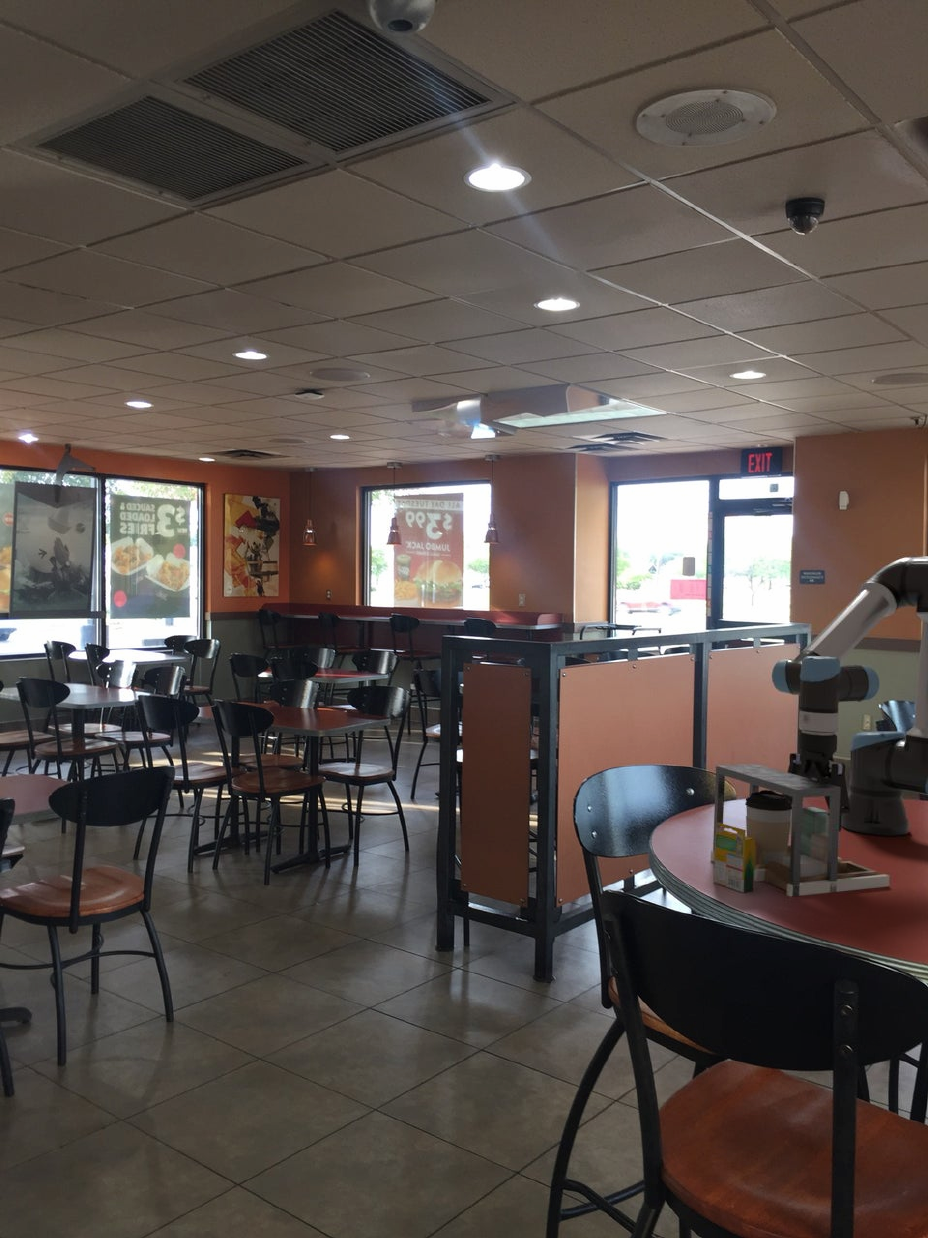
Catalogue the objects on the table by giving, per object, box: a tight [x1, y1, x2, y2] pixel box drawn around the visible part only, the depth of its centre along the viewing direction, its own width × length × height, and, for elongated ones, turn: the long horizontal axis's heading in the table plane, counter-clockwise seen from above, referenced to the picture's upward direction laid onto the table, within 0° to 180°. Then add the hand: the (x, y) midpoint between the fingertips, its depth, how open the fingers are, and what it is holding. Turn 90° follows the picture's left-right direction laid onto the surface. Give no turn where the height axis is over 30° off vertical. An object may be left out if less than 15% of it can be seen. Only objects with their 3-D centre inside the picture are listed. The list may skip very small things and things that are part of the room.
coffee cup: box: [744, 789, 792, 864], centre depth 197 cm, size 9×9×15 cm
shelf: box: [712, 763, 841, 897], centre depth 192 cm, size 10×24×20 cm, turn 21°
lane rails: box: [710, 850, 890, 897], centre depth 194 cm, size 23×24×2 cm
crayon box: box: [713, 822, 755, 894], centre depth 184 cm, size 7×3×12 cm, turn 33°
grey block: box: [783, 855, 823, 877], centre depth 186 cm, size 5×5×5 cm
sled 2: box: [765, 833, 879, 892], centre depth 187 cm, size 20×8×9 cm, turn 111°
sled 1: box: [754, 806, 843, 870], centre depth 198 cm, size 20×12×11 cm, turn 111°
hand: (813, 840), depth 201 cm, fingers open, 10 cm apart
